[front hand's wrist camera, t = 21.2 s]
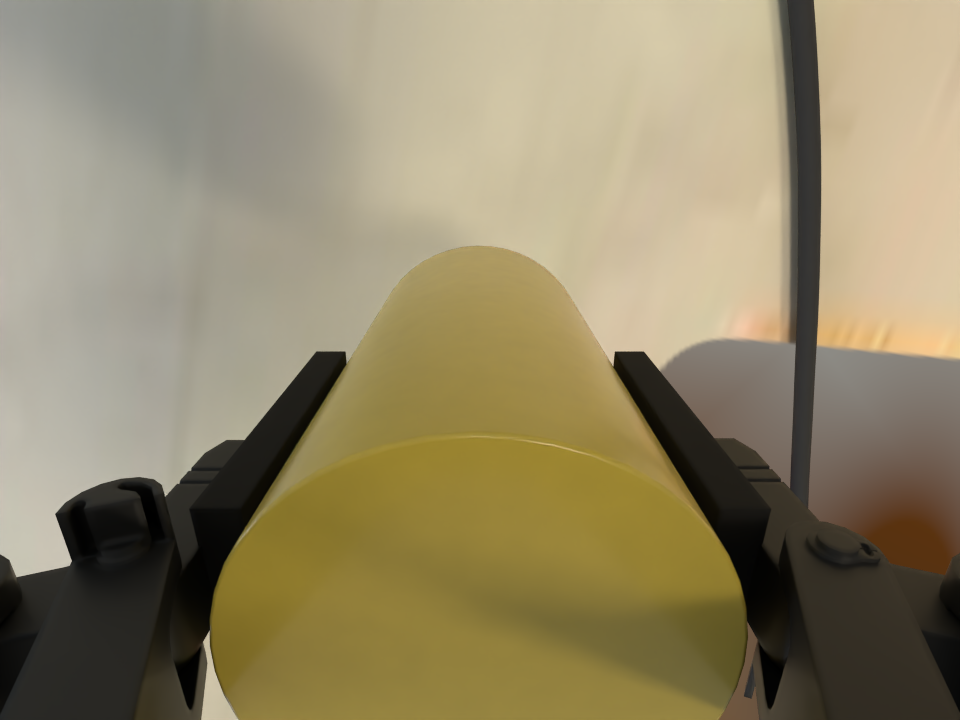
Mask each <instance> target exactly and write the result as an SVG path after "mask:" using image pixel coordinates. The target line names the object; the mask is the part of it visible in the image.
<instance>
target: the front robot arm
mask: <svg viewBox="0 0 960 720" xmlns="http://www.w3.org/2000/svg"><path fill="white" fill-rule="evenodd" d="M787 2H788V12H789V23H790V35H791V48H792V62H793V77H794V93H795V110H796V130H797V156H798V299H797V331H796V355H795V380H794V408H793V432H792V455H791V482H790V488H789V487H788V486H787V485H786V484H785V483H784V482H781V479H780V477H779V476H778V475H777V474H776V473H775V472H774V471H773V470H772V469H769V465H768V464H767V463H766V462H765V461H764V460H763V459H762V458H761V457H760V456H759V454H758V453H757V452H756V451H754V450H753V449H751V448H749V447H748V446H746V445H744V444H743V443H741V442H739V441H738V440H736V439H734V438H713V436H712V435H711V434H710V433H709V431H708V430H707V429H706V428H705V426H704V425H703V424H702V423H701V421H700V420H699V419H698V418H697V417H696V415H695V414H694V413H693V412H692V410H691V409H690V408H689V407H688V405H687V404H686V403H685V402H684V401H683V399H682V398H681V397H680V396H679V394H678V393H677V392H676V391H675V389H674V388H673V387H672V386H671V385H670V383H669V382H668V381H667V380H666V378H665V377H664V376H663V375H662V373H661V372H660V371H659V370H658V368H657V367H656V366H655V365H654V364H653V362H652V361H651V360H650V359H649V357H648V356H647V355H646V354H645V352H615V356H614V366H613V367H614V369H615V371H616V372H617V374H618V375H619V377H620V379H621V380H622V382H623V384H624V385H625V387H626V388H627V390H628V392H629V393H630V395H631V397H632V398H633V400H634V401H635V403H636V405H637V406H638V408H639V410H640V411H641V413H642V414H643V416H644V418H645V419H646V421H647V423H648V424H649V426H650V427H651V429H652V431H653V432H654V434H655V436H656V437H657V439H658V440H659V442H660V444H661V445H662V447H663V449H664V450H665V452H666V453H667V455H668V457H669V458H670V460H671V462H672V463H673V465H674V466H675V468H676V470H677V471H678V473H679V475H680V476H681V478H682V480H683V481H684V483H685V484H686V486H687V488H688V489H689V491H690V493H691V494H692V496H693V497H694V499H695V501H696V502H697V504H698V506H699V507H700V509H701V510H702V512H703V514H704V515H705V517H706V519H707V520H708V522H709V523H710V525H711V527H712V528H713V530H714V532H715V533H716V535H717V536H718V538H719V540H720V541H721V543H722V545H723V546H724V548H725V549H726V551H727V553H728V554H729V556H730V559H731V561H732V563H733V566H734V568H735V570H736V572H737V575H738V577H739V579H740V582H741V586H742V591H743V595H744V599H745V604H746V608H747V622H748V623H749V625H750V627H751V629H752V630H753V632H754V634H755V636H756V637H757V639H758V640H757V644H756V648H755V652H754V656H753V660H752V663H751V667H750V671H749V675H748V679H747V682H746V687H745V693H744V696H745V697H748V698H752V695H753V691H754V687H756V696H757V705H758V714H759V720H960V553H959V554H958V555H956V556H954V557H953V558H952V560H951V562H950V565H949V567H948V569H947V572H946V574H945V575H941V574H937V573H932V572H927V571H922V570H917V569H913V568H908V567H903V566H898V565H894V564H891V563H889V561H888V560H887V558H886V557H885V556H884V554H883V553H882V552H881V550H880V549H879V548H878V547H877V546H875V545H874V544H873V543H871V542H870V541H869V540H867V539H866V538H865V537H863V536H861V535H859V534H857V533H855V532H853V531H851V530H849V529H847V528H845V527H841V526H838V525H834V524H831V523H828V522H821V521H819V520H818V519H817V518H816V517H815V516H814V515H813V514H812V513H811V511H810V510H809V509H808V495H809V472H810V454H811V438H812V420H813V400H814V380H815V363H816V345H817V327H818V305H819V277H820V231H821V134H820V104H819V81H818V61H817V42H816V26H815V12H814V0H787ZM346 365H347V363H346V353H345V352H316V353H315V354H314V355H313V357H312V358H311V359H310V360H309V362H308V363H307V364H306V365H305V366H304V368H303V369H302V370H301V371H300V373H299V374H298V375H297V376H296V378H295V379H294V380H293V381H292V382H291V384H290V385H289V386H288V387H287V389H286V390H285V391H284V392H283V394H282V395H281V396H280V397H279V399H278V400H277V401H276V402H275V403H274V405H273V406H272V407H271V408H270V410H269V411H268V412H267V413H266V415H265V416H264V417H263V418H262V419H261V421H260V422H259V423H258V424H257V426H256V427H255V428H254V429H253V431H252V432H251V433H250V434H249V436H248V437H247V438H246V439H245V440H226V441H224V442H223V443H221V444H219V445H218V446H216V447H214V448H213V449H211V450H209V451H208V452H206V453H205V454H204V455H203V456H202V457H201V458H200V459H199V460H198V462H197V463H196V464H195V465H194V466H193V467H192V470H191V471H188V473H187V474H186V475H185V476H184V477H183V478H182V479H181V480H180V484H177V485H176V486H175V487H174V488H173V489H172V490H171V491H170V492H169V493H168V495H167V496H166V497H165V495H164V492H163V488H162V485H161V484H160V483H158V482H157V481H155V480H154V479H148V478H141V477H136V478H125V479H119V480H115V481H111V482H107V483H103V484H100V485H98V486H95V487H93V488H91V489H88V490H86V491H84V492H81V493H80V494H78V495H77V496H75V497H74V498H72V499H71V500H69V501H67V502H66V503H65V504H64V505H63V506H62V507H61V508H60V509H59V510H58V512H57V513H56V514H55V515H56V517H57V520H58V523H59V526H60V529H61V531H62V534H63V537H64V540H65V543H66V545H67V548H68V551H69V554H70V557H71V559H72V562H71V564H70V566H67V567H63V568H59V569H54V570H49V571H44V572H40V573H35V574H30V575H25V576H21V577H16V575H15V573H14V570H13V568H12V566H11V563H10V561H9V560H8V559H7V558H5V557H4V556H2V555H0V720H201V716H202V707H203V698H204V689H205V680H206V671H207V658H206V652H205V648H204V644H203V641H204V639H205V637H206V636H207V634H208V632H209V630H210V612H211V606H212V600H213V595H214V589H215V586H216V584H217V581H218V578H219V576H220V573H221V570H222V567H223V565H224V562H225V561H226V559H227V557H228V556H229V554H230V552H231V550H232V549H233V547H234V545H235V544H236V542H237V540H238V538H239V537H240V535H241V534H242V532H243V530H244V529H245V527H246V526H247V524H248V522H249V521H250V519H251V517H252V516H253V514H254V513H255V511H256V509H257V508H258V506H259V505H260V503H261V501H262V500H263V498H264V497H265V495H266V493H267V492H268V490H269V488H270V487H271V485H272V484H273V482H274V480H275V479H276V477H277V476H278V474H279V472H280V471H281V469H282V468H283V466H284V464H285V463H286V461H287V460H288V458H289V456H290V455H291V453H292V451H293V450H294V448H295V447H296V445H297V443H298V442H299V440H300V439H301V437H302V435H303V434H304V432H305V431H306V429H307V427H308V426H309V424H310V423H311V421H312V419H313V418H314V416H315V414H316V413H317V411H318V410H319V408H320V406H321V405H322V403H323V402H324V400H325V398H326V397H327V395H328V394H329V392H330V390H331V389H332V387H333V385H334V384H335V382H336V381H337V379H338V377H339V376H340V374H341V373H342V371H343V369H344V368H345V366H346Z"/></svg>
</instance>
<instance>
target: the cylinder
mask: <svg viewBox="0 0 960 720" xmlns="http://www.w3.org/2000/svg"><path fill="white" fill-rule="evenodd" d="M747 640H748V629H747V608H746V604H745V599H744V595H743V591H742V586H741V582H740V579H739V577H738V575H737V572H736V570H735V568H734V566H733V563H732V561H731V559H730V556H729V554H728V553H727V551H726V549H725V548H724V546H723V545H722V543H721V541H720V540H719V538H718V536H717V535H716V533H715V532H714V530H713V528H712V527H711V525H710V523H709V522H708V520H707V519H706V517H705V515H704V514H703V512H702V510H701V509H700V507H699V506H698V504H697V502H696V501H695V499H694V497H693V496H692V494H691V493H690V491H689V489H688V488H687V486H686V484H685V483H684V481H683V480H682V478H681V476H680V475H679V473H678V471H677V470H676V468H675V466H674V465H673V463H672V462H671V460H670V458H669V457H668V455H667V453H666V452H665V450H664V449H663V447H662V445H661V444H660V442H659V440H658V439H657V437H656V436H655V434H654V432H653V431H652V429H651V427H650V426H649V424H648V423H647V421H646V419H645V418H644V416H643V414H642V413H641V411H640V410H639V408H638V406H637V405H636V403H635V401H634V400H633V398H632V397H631V395H630V393H629V392H628V390H627V388H626V387H625V385H624V384H623V382H622V380H621V379H620V377H619V375H618V374H617V372H616V371H615V369H614V367H613V366H612V364H611V362H610V361H609V359H608V358H607V356H606V354H605V353H604V351H603V349H602V348H601V346H600V345H599V343H598V341H597V340H596V338H595V336H594V335H593V333H592V332H591V330H590V328H589V327H588V325H587V323H586V322H585V320H584V319H583V317H582V315H581V314H580V312H579V310H578V309H577V307H576V305H575V304H574V302H573V301H572V299H571V297H570V296H569V294H568V293H567V291H566V290H565V288H564V287H563V285H562V284H561V283H560V282H559V281H558V280H557V279H556V277H555V276H554V275H552V274H551V273H550V272H549V271H548V270H547V269H546V268H544V267H543V266H541V265H540V264H538V263H537V262H535V261H534V260H532V259H530V258H528V257H526V256H524V255H522V254H520V253H517V252H514V251H510V250H507V249H503V248H497V247H492V246H469V247H461V248H456V249H452V250H448V251H445V252H442V253H440V254H437V255H434V256H433V257H431V258H429V259H427V260H425V261H423V262H422V263H420V264H419V265H417V266H416V267H415V268H413V269H412V270H411V271H410V272H409V273H407V274H406V275H405V276H404V277H403V278H402V279H401V280H400V282H399V283H398V284H397V285H396V287H395V288H394V289H393V291H392V292H391V294H390V295H389V297H388V299H387V300H386V302H385V303H384V305H383V307H382V308H381V310H380V311H379V313H378V315H377V316H376V318H375V320H374V321H373V323H372V324H371V326H370V328H369V329H368V331H367V332H366V334H365V336H364V337H363V339H362V340H361V342H360V344H359V345H358V347H357V348H356V350H355V352H354V353H353V355H352V357H351V358H350V360H349V361H348V363H347V365H346V366H345V368H344V369H343V371H342V373H341V374H340V376H339V377H338V379H337V381H336V382H335V384H334V385H333V387H332V389H331V390H330V392H329V394H328V395H327V397H326V398H325V400H324V402H323V403H322V405H321V406H320V408H319V410H318V411H317V413H316V414H315V416H314V418H313V419H312V421H311V423H310V424H309V426H308V427H307V429H306V431H305V432H304V434H303V435H302V437H301V439H300V440H299V442H298V443H297V445H296V447H295V448H294V450H293V451H292V453H291V455H290V456H289V458H288V460H287V461H286V463H285V464H284V466H283V468H282V469H281V471H280V472H279V474H278V476H277V477H276V479H275V480H274V482H273V484H272V485H271V487H270V488H269V490H268V492H267V493H266V495H265V497H264V498H263V500H262V501H261V503H260V505H259V506H258V508H257V509H256V511H255V513H254V514H253V516H252V517H251V519H250V521H249V522H248V524H247V526H246V527H245V529H244V530H243V532H242V534H241V535H240V537H239V538H238V540H237V542H236V544H235V545H234V547H233V549H232V550H231V552H230V554H229V556H228V557H227V559H226V561H225V562H224V565H223V567H222V570H221V573H220V576H219V578H218V581H217V584H216V586H215V589H214V595H213V600H212V606H211V612H210V648H211V654H212V659H213V664H214V669H215V673H216V675H217V678H218V680H219V683H220V686H221V688H222V691H223V694H224V696H225V698H226V699H227V701H228V703H229V705H230V706H231V708H232V710H233V712H234V713H235V715H236V717H237V718H238V720H719V718H720V717H721V715H722V714H723V712H724V711H725V709H726V707H727V705H728V703H729V701H730V699H731V697H732V696H733V694H734V692H735V690H736V688H737V685H738V682H739V678H740V675H741V672H742V669H743V666H744V662H745V655H746V648H747Z"/></svg>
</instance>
